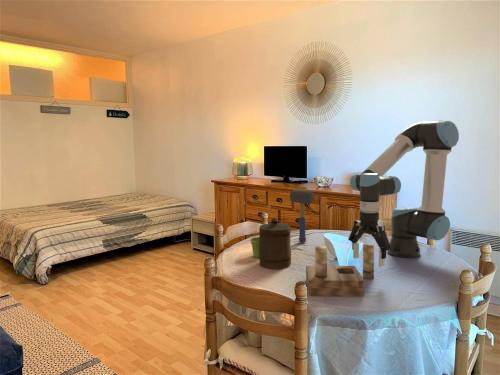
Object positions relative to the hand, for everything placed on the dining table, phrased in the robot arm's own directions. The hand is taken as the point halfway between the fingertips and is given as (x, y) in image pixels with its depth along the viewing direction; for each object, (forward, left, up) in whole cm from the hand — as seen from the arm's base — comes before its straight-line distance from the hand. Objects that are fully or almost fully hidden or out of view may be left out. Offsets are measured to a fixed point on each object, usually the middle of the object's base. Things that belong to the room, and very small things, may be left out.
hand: (368, 261), depth 155 cm
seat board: (+16, +11, -7) cm, 20 cm away
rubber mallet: (+24, -53, -7) cm, 59 cm away
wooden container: (+39, -17, -7) cm, 43 cm away
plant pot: (+47, -29, -7) cm, 56 cm away
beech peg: (0, 0, -7) cm, 7 cm away
